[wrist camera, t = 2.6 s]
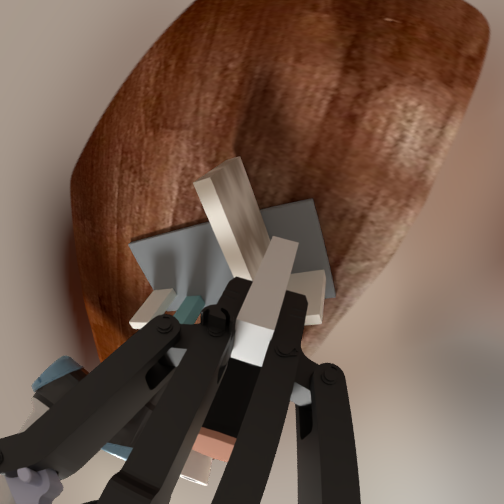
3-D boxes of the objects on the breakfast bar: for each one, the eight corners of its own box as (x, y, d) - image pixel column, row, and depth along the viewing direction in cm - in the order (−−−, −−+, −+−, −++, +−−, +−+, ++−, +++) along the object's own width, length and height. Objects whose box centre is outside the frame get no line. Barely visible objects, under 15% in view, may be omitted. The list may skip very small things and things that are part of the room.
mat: (168, 308, 41) (166, 311, 40) (130, 242, 36) (128, 244, 35) (335, 293, 31) (335, 297, 31) (312, 198, 26) (312, 200, 26)
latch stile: (193, 302, 38) (153, 367, 29) (188, 293, 38) (145, 358, 28) (207, 301, 38) (167, 369, 28) (202, 292, 37) (160, 360, 27)
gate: (280, 270, 30) (266, 314, 25) (267, 272, 31) (251, 315, 25) (240, 156, 25) (210, 177, 19) (225, 160, 25) (193, 182, 20)
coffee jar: (208, 320, 40) (153, 424, 25) (272, 307, 35) (228, 437, 20) (243, 363, 44) (206, 458, 29) (302, 357, 39) (276, 468, 24)
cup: (186, 422, 71) (165, 469, 56) (208, 423, 65) (186, 475, 51) (210, 437, 74) (192, 481, 59) (233, 438, 68) (215, 487, 54)
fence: (157, 296, 39) (133, 328, 33) (153, 290, 39) (128, 322, 33) (326, 278, 30) (321, 323, 24) (324, 269, 29) (319, 314, 23)
